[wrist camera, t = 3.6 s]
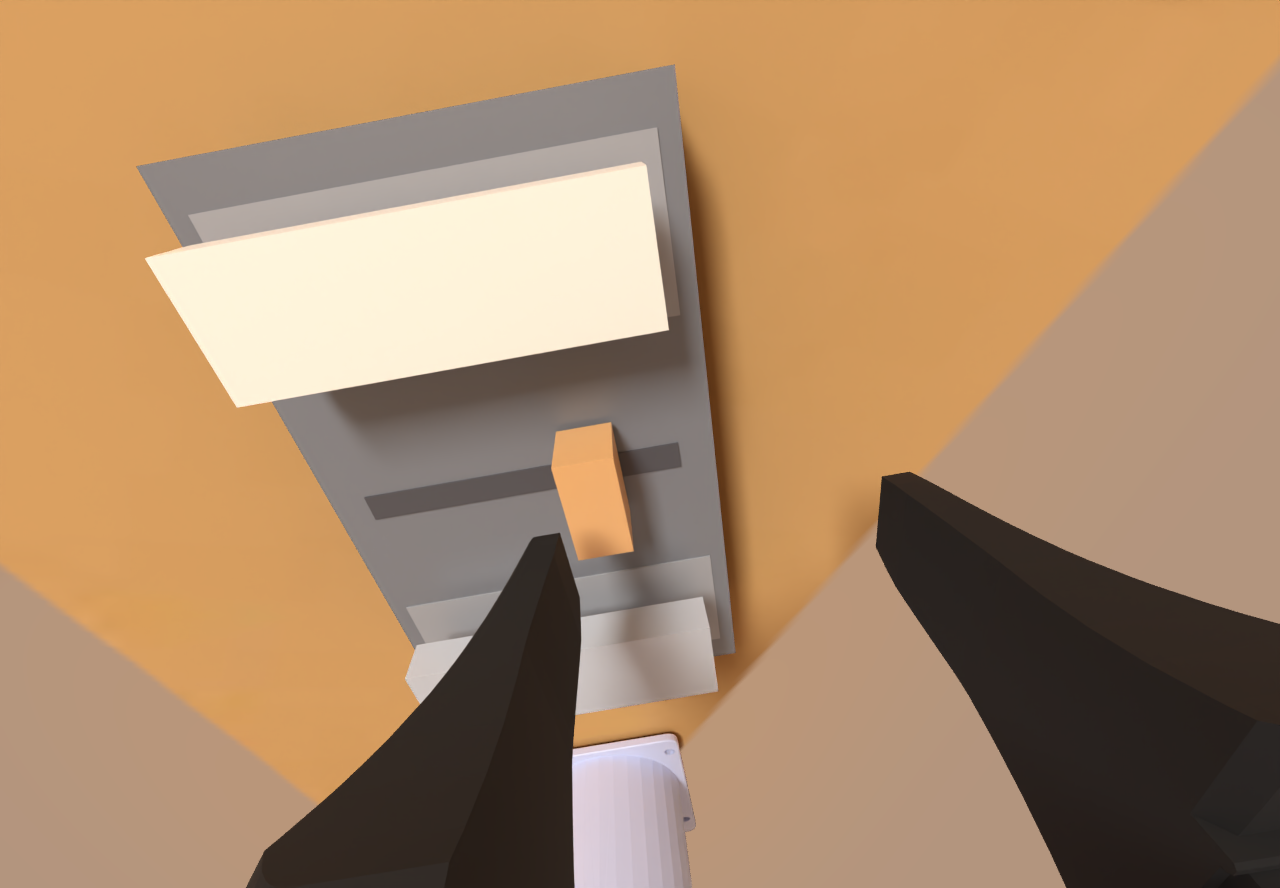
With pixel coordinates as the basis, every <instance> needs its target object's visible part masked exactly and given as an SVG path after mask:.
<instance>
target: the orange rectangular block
mask: <svg viewBox="0 0 1280 888" xmlns="http://www.w3.org/2000/svg"><path fill="white" fill-rule="evenodd" d="M551 470H552V473H553V476H554V480H555V483H556V486H557V490H558V493H559V497H560V500H561V503H562V507H563V510H564V513H565V517H566V520H567V524H568V527H569V530H570V534H571V537H572V540H573V544H574V547H575V551H576V554H577V557H578V561H580V560H585V559H591V558H597V557H603V556H609V555H615V554H620V553H626V552H632V551H634V548H633V537H632V526H631V516H630V508H629V503H628V498H627V494H626V489H625V484H624V480H623V475H622V470H621V466H620V461H619V456H618V452H617V447H616V442H615V438H614V433H613V428H612V424H611V422H608V423H603V424H597V425H591V426H586V427H580V428H574V429H569V430H563V431H557V432H556V435H555V443H554V451H553V458H552V466H551Z"/></svg>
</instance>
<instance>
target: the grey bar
mask: <svg viewBox="0 0 1280 888" xmlns="http://www.w3.org/2000/svg"><path fill="white" fill-rule="evenodd" d="M472 637H473V636H467V637H462V638H456V639H450V640H444V641H438V642H432V643H426V644H420V645H417V646H416V649H415V652H414V655H413V658H412V660H411V663H410V666H409V669H408V672H407V675H406V678H405V680H406V682H407V683H408V685H409V687H410V688H411V690H412V691H413V693H414V695H415V696H416V698H417V700H418V701H419V703H420V704H421V703H422V702H423V700H424V699H425V698H426V697H427V696H428V695H429V694H430V692H431V691H432V690H433V689H434V688H435V686H436V685H437V684H438V683H439V681H440V680H441V679H442V678H443V676H444V675H445V674H446V673H447V671H448V670H449V669H450V667H451V666H452V665H453V663H454V662H455V661H456V659H457V658H458V657H459V655H460V654H461V653H462V651H463V650H464V649H465V647H466V646H467V644H468V643H469V641H470V640H471V638H472ZM717 691H718V685H717V678H716V670H715V663H714V656H713V649H712V641H711V634H710V627H709V623H708V618H707V614H706V610H705V605H704V601H703V597H698V598H692V599H686V600H680V601H674V602H668V603H662V604H656V605H650V606H644V607H639V608H633V609H627V610H621V611H615V612H609V613H603V614H597V615H591V616H585V617H581V653H580V666H579V678H578V690H577V702H576V714H575V715H578V714H584V713H590V712H596V711H602V710H609V709H615V708H621V707H627V706H633V705H639V704H645V703H651V702H657V701H663V700H669V699H675V698H681V697H687V696H693V695H699V694H705V693H711V692H717Z"/></svg>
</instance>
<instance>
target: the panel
mask: <svg viewBox="0 0 1280 888" xmlns="http://www.w3.org/2000/svg"><path fill="white" fill-rule="evenodd" d="M636 162H643V163H644V164H645V165H646V166H647V174H648V181H649V188H650V196H651V203H652V210H653V217H654V225H655V232H656V239H657V247H658V254H659V261H660V269H661V276H662V283H663V290H664V298H665V305H666V312H667V320H668V327H669V330H667V331H661V332H655V333H650V334H644V335H639V336H633V337H628V338H622V339H616V340H611V341H605V342H600V343H594V344H589V345H583V346H577V347H572V348H566V349H561V350H555V351H550V352H544V353H538V354H533V355H527V356H522V357H516V358H511V359H505V360H499V361H494V362H488V363H483V364H477V365H472V366H466V367H460V368H455V369H449V370H444V371H438V372H433V373H427V374H421V375H416V376H410V377H405V378H399V379H394V380H388V381H382V382H377V383H371V384H366V385H360V386H355V387H349V388H343V389H338V390H332V391H327V392H321V393H316V394H310V395H304V396H299V397H293V398H288V399H282V400H277V401H272V403H273V404H274V406H275V408H276V410H277V411H278V413H279V415H280V417H281V418H282V420H283V422H284V424H285V425H286V427H287V429H288V431H289V432H290V434H291V436H292V437H293V439H294V441H295V443H296V444H297V446H298V448H299V450H300V451H301V453H302V455H303V457H304V458H305V460H306V462H307V463H308V465H309V467H310V469H311V470H312V472H313V474H314V476H315V477H316V479H317V481H318V483H319V484H320V486H321V488H322V490H323V491H324V493H325V495H326V496H327V498H328V500H329V502H330V503H331V505H332V507H333V509H334V510H335V512H336V514H337V516H338V517H339V519H340V521H341V522H342V524H343V526H344V528H345V529H346V531H347V533H348V535H349V536H350V538H351V540H352V542H353V543H354V545H355V547H356V548H357V550H358V552H359V554H360V555H361V557H362V559H363V561H364V562H365V564H366V566H367V568H368V569H369V571H370V573H371V575H372V576H373V578H374V580H375V581H376V583H377V585H378V587H379V588H380V590H381V592H382V594H383V595H384V597H385V599H386V601H387V602H388V604H389V606H390V607H391V609H392V611H393V613H394V614H395V616H396V618H397V620H398V621H399V623H400V625H401V627H402V628H403V630H404V632H405V633H406V635H407V637H408V639H409V640H410V642H411V644H412V646H413V647H414V649H416V646H417V645H420V644H426V643H432V642H438V641H444V640H450V639H456V638H462V637H467V636H473V635H474V634H475V632H476V631H477V630H478V628H479V627H480V625H481V624H482V622H483V621H484V619H485V618H486V616H487V615H488V613H489V611H490V610H491V608H492V607H493V605H494V603H495V602H496V600H497V598H498V597H499V595H500V593H501V592H502V590H503V589H504V587H505V585H506V583H507V582H508V580H509V578H510V576H511V575H512V573H513V571H514V569H515V568H516V566H517V564H518V562H519V560H520V559H521V557H522V555H523V553H524V551H525V549H526V548H527V546H528V544H529V542H530V541H531V539H532V538H533V537H537V536H543V535H549V534H555V533H560V534H561V538H562V541H563V544H564V547H565V551H566V554H567V557H568V560H569V564H570V567H571V570H572V574H573V577H574V580H575V583H576V587H577V590H578V593H579V596H580V611H581V617H585V616H591V615H597V614H603V613H609V612H615V611H621V610H627V609H633V608H639V607H644V606H650V605H656V604H662V603H668V602H674V601H680V600H686V599H692V598H698V597H703V601H704V605H705V610H706V614H707V618H708V623H709V627H710V634H711V641H712V649H713V656H720V655H726V654H732V653H736V652H735V642H734V633H733V623H732V614H731V604H730V594H729V585H728V575H727V565H726V556H725V546H724V536H723V527H722V517H721V507H720V498H719V488H718V478H717V469H716V459H715V449H714V440H713V430H712V420H711V411H710V401H709V391H708V382H707V372H706V362H705V353H704V343H703V333H702V324H701V314H700V304H699V295H698V285H697V275H696V266H695V256H694V246H693V237H692V227H691V217H690V208H689V198H688V189H687V179H686V169H685V160H684V150H683V140H682V131H681V121H680V111H679V102H678V92H677V82H676V73H675V65H670V66H664V67H659V68H654V69H648V70H643V71H638V72H633V73H627V74H622V75H617V76H611V77H606V78H601V79H596V80H590V81H585V82H580V83H574V84H569V85H564V86H559V87H553V88H548V89H543V90H537V91H532V92H527V93H522V94H516V95H511V96H506V97H500V98H495V99H490V100H485V101H479V102H474V103H469V104H463V105H458V106H453V107H448V108H442V109H437V110H432V111H426V112H421V113H416V114H410V115H405V116H400V117H395V118H389V119H384V120H379V121H373V122H368V123H363V124H358V125H352V126H347V127H342V128H336V129H331V130H326V131H321V132H315V133H310V134H305V135H299V136H294V137H289V138H284V139H278V140H273V141H268V142H262V143H257V144H252V145H247V146H241V147H236V148H231V149H225V150H220V151H215V152H210V153H204V154H199V155H194V156H188V157H183V158H178V159H173V160H167V161H162V162H157V163H151V164H146V165H141V166H136V167H137V169H138V170H139V172H140V174H141V176H142V177H143V179H144V181H145V182H146V184H147V186H148V188H149V189H150V191H151V193H152V195H153V196H154V198H155V200H156V202H157V203H158V205H159V207H160V208H161V210H162V212H163V214H164V215H165V217H166V219H167V221H168V222H169V224H170V226H171V228H172V229H173V231H174V233H175V234H176V236H177V238H178V240H179V241H180V243H181V245H182V247H186V246H190V245H195V244H200V243H206V242H211V241H217V240H222V239H227V238H233V237H238V236H243V235H249V234H254V233H260V232H265V231H270V230H276V229H281V228H287V227H292V226H297V225H303V224H308V223H313V222H319V221H324V220H330V219H335V218H340V217H346V216H351V215H356V214H362V213H367V212H373V211H378V210H383V209H389V208H394V207H400V206H405V205H410V204H416V203H421V202H426V201H432V200H437V199H443V198H448V197H453V196H459V195H464V194H470V193H475V192H480V191H486V190H491V189H496V188H502V187H507V186H513V185H518V184H523V183H529V182H534V181H539V180H545V179H550V178H556V177H561V176H566V175H572V174H577V173H583V172H588V171H593V170H599V169H604V168H609V167H615V166H620V165H626V164H631V163H636ZM608 422H611V424H612V428H613V433H614V438H615V442H616V447H617V452H618V456H619V461H620V466H621V470H622V475H623V480H624V484H625V489H626V494H627V498H628V503H629V508H630V516H631V526H632V537H633V548H634V551H632V552H626V553H620V554H615V555H609V556H603V557H597V558H591V559H585V560H580V561H578V557H577V554H576V551H575V547H574V544H573V540H572V537H571V534H570V530H569V527H568V524H567V520H566V517H565V513H564V510H563V507H562V503H561V500H560V497H559V493H558V490H557V486H556V483H555V480H554V476H553V473H552V470H551V466H552V458H553V451H554V443H555V435H556V432H557V431H563V430H569V429H574V428H580V427H586V426H591V425H597V424H603V423H608Z"/></svg>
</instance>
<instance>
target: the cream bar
mask: <svg viewBox="0 0 1280 888" xmlns="http://www.w3.org/2000/svg"><path fill="white" fill-rule="evenodd" d="M145 259H146V261H147V263H148V264H149V266H150V267H151V269H152V271H153V272H154V274H155V276H156V277H157V279H158V280H159V282H160V284H161V285H162V287H163V289H164V290H165V292H166V293H167V295H168V297H169V298H170V300H171V301H172V303H173V305H174V306H175V308H176V310H177V311H178V313H179V314H180V316H181V318H182V319H183V321H184V323H185V324H186V326H187V327H188V329H189V331H190V332H191V334H192V335H193V337H194V339H195V340H196V342H197V344H198V345H199V347H200V348H201V350H202V352H203V353H204V355H205V356H206V358H207V360H208V361H209V363H210V365H211V366H212V368H213V369H214V371H215V373H216V374H217V376H218V378H219V379H220V381H221V382H222V384H223V386H224V387H225V389H226V390H227V392H228V394H229V395H230V397H231V399H232V400H233V402H234V403H235V405H236V407H237V408H238V407H243V406H249V405H254V404H260V403H265V402H271V401H277V400H282V399H288V398H293V397H299V396H304V395H310V394H316V393H321V392H327V391H332V390H338V389H343V388H349V387H355V386H360V385H366V384H371V383H377V382H382V381H388V380H394V379H399V378H405V377H410V376H416V375H421V374H427V373H433V372H438V371H444V370H449V369H455V368H460V367H466V366H472V365H477V364H483V363H488V362H494V361H499V360H505V359H511V358H516V357H522V356H527V355H533V354H538V353H544V352H550V351H555V350H561V349H566V348H572V347H577V346H583V345H589V344H594V343H600V342H605V341H611V340H616V339H622V338H628V337H633V336H639V335H644V334H650V333H655V332H661V331H667V330H669V327H668V320H667V312H666V305H665V298H664V290H663V283H662V276H661V269H660V261H659V254H658V247H657V239H656V232H655V225H654V217H653V210H652V203H651V196H650V188H649V181H648V174H647V166H646V165H645V164H644V163H643V162H636V163H631V164H626V165H620V166H615V167H609V168H604V169H599V170H593V171H588V172H583V173H577V174H572V175H566V176H561V177H556V178H550V179H545V180H539V181H534V182H529V183H523V184H518V185H513V186H507V187H502V188H496V189H491V190H486V191H480V192H475V193H470V194H464V195H459V196H453V197H448V198H443V199H437V200H432V201H426V202H421V203H416V204H410V205H405V206H400V207H394V208H389V209H383V210H378V211H373V212H367V213H362V214H356V215H351V216H346V217H340V218H335V219H330V220H324V221H319V222H313V223H308V224H303V225H297V226H292V227H287V228H281V229H276V230H270V231H265V232H260V233H254V234H249V235H243V236H238V237H233V238H227V239H222V240H217V241H211V242H206V243H200V244H195V245H190V246H186V247H182V248H179V249H175V250H172V251H168V252H165V253H161V254H158V255H154V256H151V257H147V258H145Z"/></svg>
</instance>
